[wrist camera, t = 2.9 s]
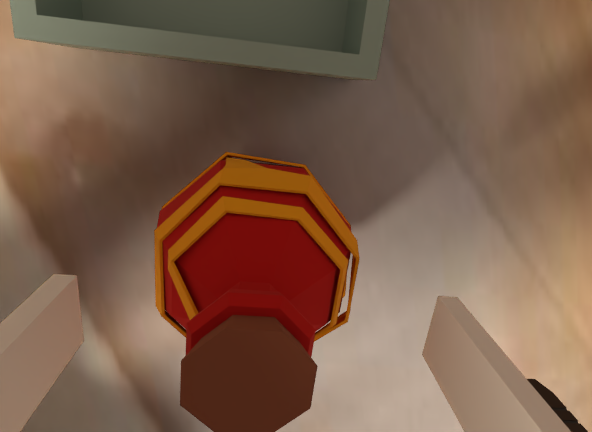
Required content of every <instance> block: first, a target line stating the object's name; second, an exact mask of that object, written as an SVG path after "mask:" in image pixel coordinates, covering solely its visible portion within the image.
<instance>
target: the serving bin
mask: <svg viewBox="0 0 592 432" xmlns="http://www.w3.org/2000/svg"><path fill="white" fill-rule="evenodd" d="M389 1H390V0H10V7H11V14H12V22H13V29H14V37H15V38H19V39H25V40H31V41H37V42H43V43H49V44H55V45H61V46H67V47H75V48H83V49H92V50H101V51H109V52H118V53H126V54H135V55H144V56H152V57H161V58H170V59H178V60H187V61H196V62H204V63H213V64H222V65H230V66H239V67H248V68H256V69H265V70H274V71H282V72H291V73H300V74H308V75H317V76H326V77H334V78H343V79H352V80H376V79H377V73H378V67H379V61H380V55H381V49H382V43H383V37H384V31H385V25H386V19H387V13H388V7H389Z"/></svg>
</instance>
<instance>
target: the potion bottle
mask: <svg viewBox="0 0 592 432" xmlns="http://www.w3.org/2000/svg"><path fill="white" fill-rule="evenodd" d="M232 157H235V158H232ZM236 158H242V159H249V160H256V161H263V162H270V163H277V164H283V165H290V166H283V165H273V164H263V163H253V162H249V161H247V160H242V159H236ZM293 166H297V167H293ZM154 235H155V295H156V307H157V309H158V311H159V312H160V314H161V316H162V317H163V318H164V319H165V320H166V321H168V322H169V323H170V324H171V325H172V326H173V327H174V328H176V329H177V330H178V331H179V332H180V333H181V334H182V335H184V336H185V337H186V356H185V357H184V358H183V359H182V361H181V390H180V405H181V406H182V407H183V408H185V409H186V410H187V411H188V412H190V413H191V414H192V415H193V416H195V417H196V418H197V419H199V420H200V421H201V422H202V423H204V424H205V425H206V426H207V427H209V428H210V429H211V430H212V431H214V432H275V431H277V430H278V429H280V428H281V427H283V426H284V425H286V424H287V423H289V422H290V421H292V420H293V419H295V418H296V417H298V416H299V415H301V414H302V413H304V412H305V411H307V410H308V409H310V407H311V401H312V395H313V389H314V383H315V377H316V371H317V365H316V364H315V362H314V361H313V359H312V358H311V355H312V349H313V343H314V341H316V340H318V339H319V338H321V337H323V336H324V335H326V334H328V333H329V332H331V331H333V330H335V329H336V328H338V327H340V326H341V325H343V324H345V323H346V322H348V318H349V314H350V307H351V301H352V295H353V290H354V285H355V280H356V274H357V269H358V264H359V252H358V245H357V240H356V238H355V237H354V235H353V234H352V233H351V225H350V224H349V222H348V221H347V220H346V218H345V217H344V216H343V214H342V213H341V212H340V210H339V209H338V208H337V206H336V205H335V204H334V203H333V201H332V200H331V199H330V197H329V196H328V195H327V193H326V192H325V191H324V189H323V188H322V187H321V185H320V184H319V183H318V181H317V180H316V179H315V177H314V176H313V175H312V173H311V172H310V171H309V169H308V168H307V167H306V165H303V164H297V163H291V162H285V161H279V160H272V159H266V158H260V157H254V156H248V155H242V154H236V153H230V152H226V153H225V154H223V155H222V156H221V157H220V158H219V159H218V160H216V161H215V162H214V163H213V164H212V165H210V166H209V167H208V168H207V169H206V170H205V171H203V172H202V173H201V174H200V175H199V176H198V177H196V178H195V179H194V180H193V181H192V182H191V183H189V184H188V185H187V186H186V187H185V188H183V189H182V190H181V191H180V192H179V193H178V194H176V195H175V196H174V197H173V198H172V199H171V200H169V201H168V202H167V203H166V204H165V205H164V206H162V210H161V211H160V213H159V219H158V225H157V229H155V230H154ZM350 253H352V254H353V258H352V268H351V279H350V290H349V300H348V307H347V311H346V312H344V313H343V314H341V315H340V316H339V317H338V313H339V312H340V307H341V302H342V298H343V297H344V296H345V290H346V277H347V269H348V264H349V259H350ZM165 310H166V311H167V312H168V313H167V312H166V311H165ZM330 320H331V322H330V323H329V324H327V323H328V322H329V321H330ZM178 322H179V323H180V324H181V325H182V326H183V327H184V328H185V329H184V328H183V327H182V326H181V325H180V324H179V323H178ZM325 324H327V325H326V326H324V325H325ZM323 326H324V327H323ZM321 327H323V328H322V329H320V328H321ZM318 329H320V330H319V331H317V330H318ZM315 331H317V332H316V333H315Z"/></svg>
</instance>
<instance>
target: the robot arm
mask: <svg viewBox="0 0 592 432" xmlns="http://www.w3.org/2000/svg"><path fill="white" fill-rule="evenodd" d="M83 341H84V336H83V327H82V318H81V308H80V299H79V290H78V280H77V275H63V274H53V275H52V276H51V277H50V278H49V279H48V280H47V281H45V282H44V283H43V284H42V285H41V286H40V287H39V288H38V289H37V290H36V291H35V292H34V293H32V294H31V295H30V296H29V297H28V298H27V299H26V300H25V301H24V302H23V303H22V304H20V305H19V306H18V307H17V308H16V309H15V310H14V311H13V312H12V313H11V314H10V315H9V316H7V317H6V318H5V319H4V320H3V321H2V322H1V323H0V432H20V431H21V430H22V428H23V427H24V426H25V424H26V423H27V421H28V420H29V418H30V417H31V416H32V414H33V413H34V411H35V410H36V408H37V407H38V405H39V404H40V403H41V401H42V400H43V398H44V397H45V395H46V394H47V393H48V391H49V390H50V388H51V387H52V385H53V384H54V383H55V381H56V380H57V378H58V377H59V375H60V374H61V373H62V371H63V370H64V368H65V367H66V365H67V364H68V363H69V361H70V360H71V358H72V357H73V355H74V354H75V353H76V351H77V350H78V348H79V347H80V345H81V344H82V343H83ZM422 355H423V357H424V359H425V361H426V362H427V364H428V366H429V368H430V370H431V371H432V373H433V375H434V377H435V379H436V381H437V382H438V384H439V386H440V388H441V390H442V392H443V393H444V395H445V397H446V399H447V401H448V402H449V404H450V406H451V408H452V410H453V412H454V413H455V415H456V417H457V419H458V421H459V423H460V424H461V426H462V428H463V430H464V432H588V431H587V430H586V429H585V428H584V427H583V426H582V425H581V424H579V423H578V420H577V419H576V418H575V417H574V416H573V415H572V413H571V412H570V411H567V409H566V407H565V406H564V405H563V403H562V402H561V401H560V400H559V399H558V398H557V397H556V396H555V394H554V393H553V392H551V391H550V390H549V389H547V388H546V387H545V386H543V385H542V384H541V383H539V382H538V381H537V380H535V379H526V378H525V377H524V375H523V374H522V373H521V372H520V371H519V370H518V368H517V367H516V366H515V365H514V364H513V362H512V361H511V360H510V359H509V358H508V357H507V355H506V354H505V353H504V352H503V351H502V349H501V348H500V347H499V346H498V345H497V344H496V342H495V341H494V340H493V339H492V338H491V337H490V335H489V334H488V333H487V332H486V331H485V329H484V328H483V327H482V326H481V325H480V324H479V322H478V321H477V320H476V319H475V318H474V316H473V315H472V314H471V313H470V312H469V311H468V309H467V308H466V307H465V306H464V305H463V303H462V302H461V301H460V300H459V299H458V298H457V297H445V296H438V298H437V302H436V306H435V309H434V313H433V317H432V320H431V324H430V328H429V331H428V335H427V338H426V342H425V346H424V349H423V353H422Z"/></svg>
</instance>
